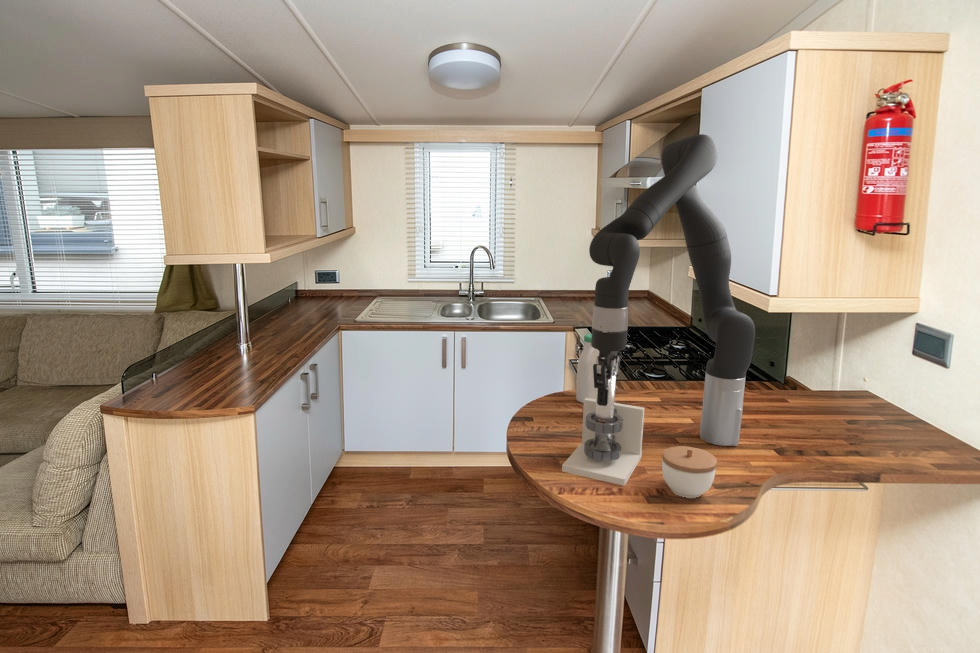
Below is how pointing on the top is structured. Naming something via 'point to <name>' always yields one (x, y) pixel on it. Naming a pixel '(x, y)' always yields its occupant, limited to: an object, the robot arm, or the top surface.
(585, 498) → the top surface
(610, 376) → the robot arm
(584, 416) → the tube holder
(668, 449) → the lidded jar
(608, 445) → the steel tube
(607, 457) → the collars
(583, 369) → the milk bottle
